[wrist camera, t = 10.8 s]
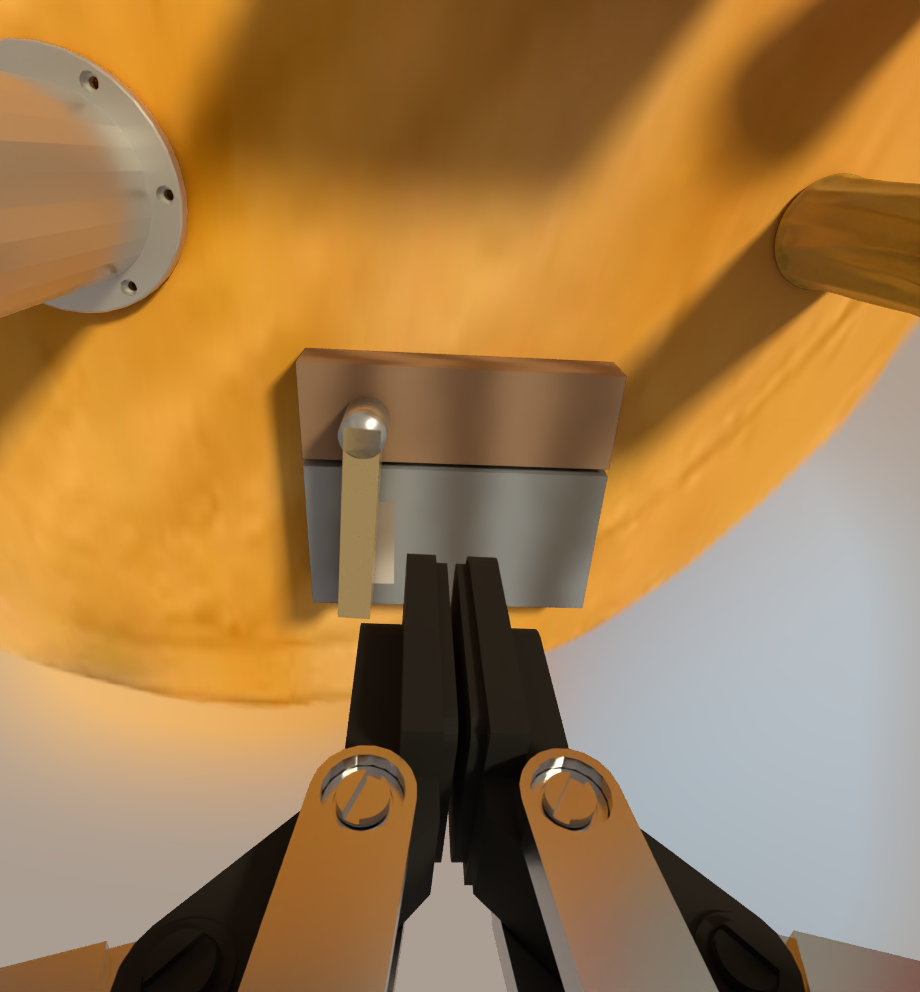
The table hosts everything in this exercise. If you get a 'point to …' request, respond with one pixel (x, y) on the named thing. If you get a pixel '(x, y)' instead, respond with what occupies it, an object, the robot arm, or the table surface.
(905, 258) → the vase
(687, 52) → the table surface
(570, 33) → the table surface
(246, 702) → the table surface
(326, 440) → the door mockup
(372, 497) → the latch bar
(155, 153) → the robot arm
